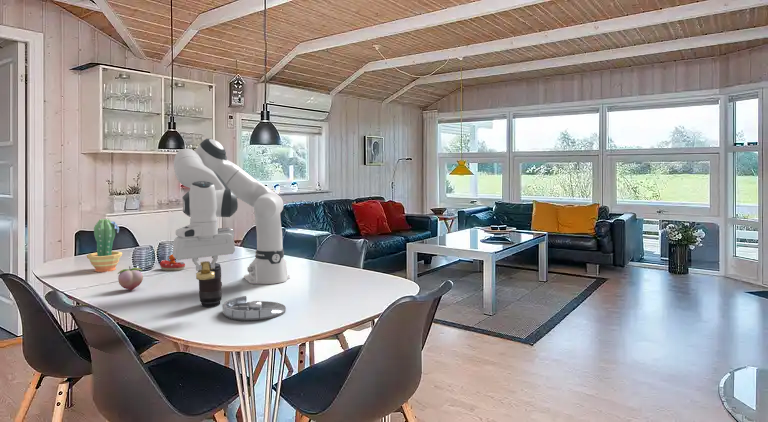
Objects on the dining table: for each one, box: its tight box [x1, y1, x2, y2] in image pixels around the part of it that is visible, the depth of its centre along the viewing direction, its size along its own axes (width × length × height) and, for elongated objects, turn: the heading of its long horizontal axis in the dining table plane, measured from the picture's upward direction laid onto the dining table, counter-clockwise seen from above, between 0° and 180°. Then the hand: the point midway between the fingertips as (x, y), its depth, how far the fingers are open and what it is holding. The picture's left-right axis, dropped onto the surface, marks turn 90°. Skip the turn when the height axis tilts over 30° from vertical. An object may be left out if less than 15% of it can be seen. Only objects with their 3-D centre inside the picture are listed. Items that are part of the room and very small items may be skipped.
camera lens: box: [197, 262, 223, 308], centre depth 189 cm, size 8×8×15 cm
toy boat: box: [159, 254, 186, 272], centre depth 252 cm, size 8×12×8 cm, turn 83°
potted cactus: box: [86, 218, 123, 273], centre depth 249 cm, size 15×15×25 cm
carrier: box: [221, 295, 287, 322], centre depth 180 cm, size 22×22×3 cm
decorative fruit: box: [117, 266, 144, 291], centre depth 210 cm, size 9×8×10 cm
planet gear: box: [195, 260, 215, 281], centre depth 174 cm, size 6×6×6 cm
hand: (205, 269), depth 174 cm, fingers closed on planet gear, 3 cm apart
